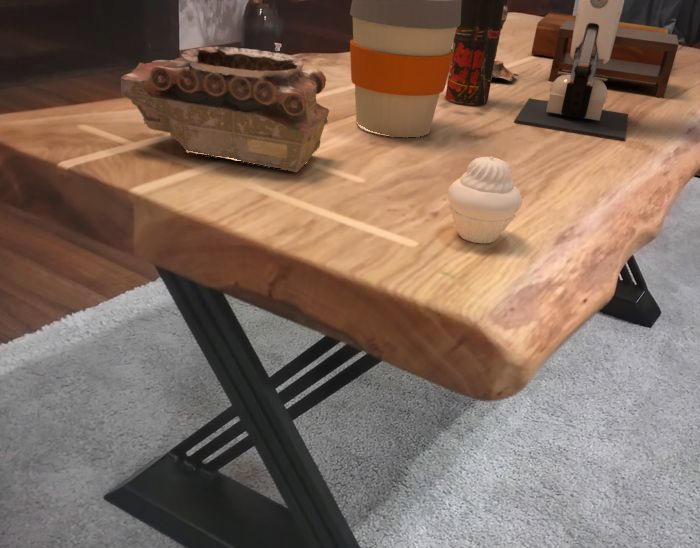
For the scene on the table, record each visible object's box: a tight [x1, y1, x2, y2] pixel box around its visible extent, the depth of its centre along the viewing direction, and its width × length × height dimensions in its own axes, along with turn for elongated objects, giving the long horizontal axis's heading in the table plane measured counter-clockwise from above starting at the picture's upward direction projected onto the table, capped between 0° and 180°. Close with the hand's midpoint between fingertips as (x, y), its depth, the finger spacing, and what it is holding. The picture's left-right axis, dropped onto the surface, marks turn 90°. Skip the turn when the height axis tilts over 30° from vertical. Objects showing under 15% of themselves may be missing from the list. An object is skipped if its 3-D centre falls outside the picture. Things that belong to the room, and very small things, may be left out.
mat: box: [513, 97, 629, 142], centre depth 105 cm, size 14×14×1 cm
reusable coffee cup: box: [349, 0, 462, 139], centre depth 90 cm, size 13×13×15 cm
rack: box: [548, 20, 680, 99], centre depth 126 cm, size 18×11×8 cm, turn 71°
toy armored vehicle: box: [120, 45, 330, 173], centre depth 76 cm, size 13×20×10 cm, turn 70°
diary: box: [531, 11, 669, 66], centre depth 148 cm, size 23×19×6 cm
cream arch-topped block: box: [546, 71, 608, 120], centre depth 103 cm, size 7×4×5 cm, turn 71°
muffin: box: [447, 155, 523, 244], centre depth 64 cm, size 6×6×7 cm
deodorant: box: [445, 0, 505, 107], centre depth 105 cm, size 6×6×15 cm
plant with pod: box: [492, 0, 520, 82], centre depth 119 cm, size 8×11×20 cm
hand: (575, 110), depth 104 cm, fingers closed on cream arch-topped block, 4 cm apart
